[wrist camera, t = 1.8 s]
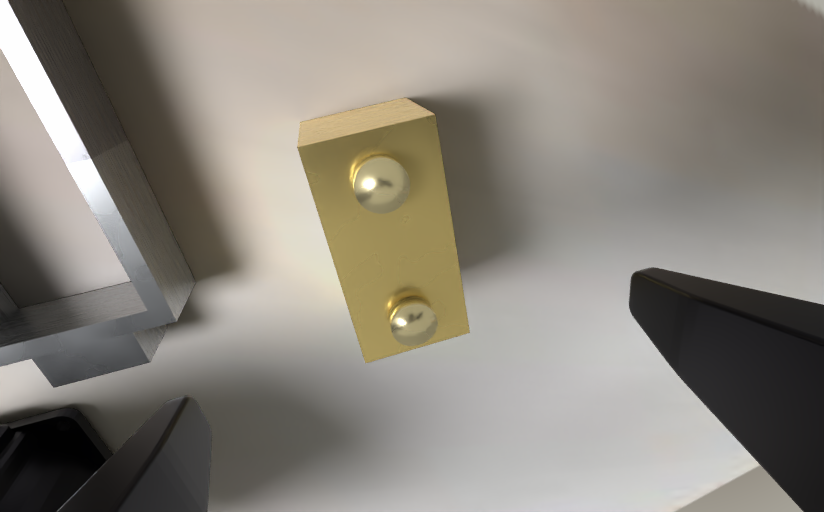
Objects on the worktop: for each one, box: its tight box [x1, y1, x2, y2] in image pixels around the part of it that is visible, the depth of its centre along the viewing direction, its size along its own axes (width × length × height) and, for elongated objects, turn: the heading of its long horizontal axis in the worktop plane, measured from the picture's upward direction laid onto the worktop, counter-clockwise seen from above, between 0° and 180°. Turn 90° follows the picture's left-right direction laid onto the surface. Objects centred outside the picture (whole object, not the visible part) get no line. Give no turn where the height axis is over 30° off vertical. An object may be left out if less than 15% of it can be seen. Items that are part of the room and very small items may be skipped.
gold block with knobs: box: [297, 98, 470, 363], centre depth 14 cm, size 7×4×5 cm, turn 10°
